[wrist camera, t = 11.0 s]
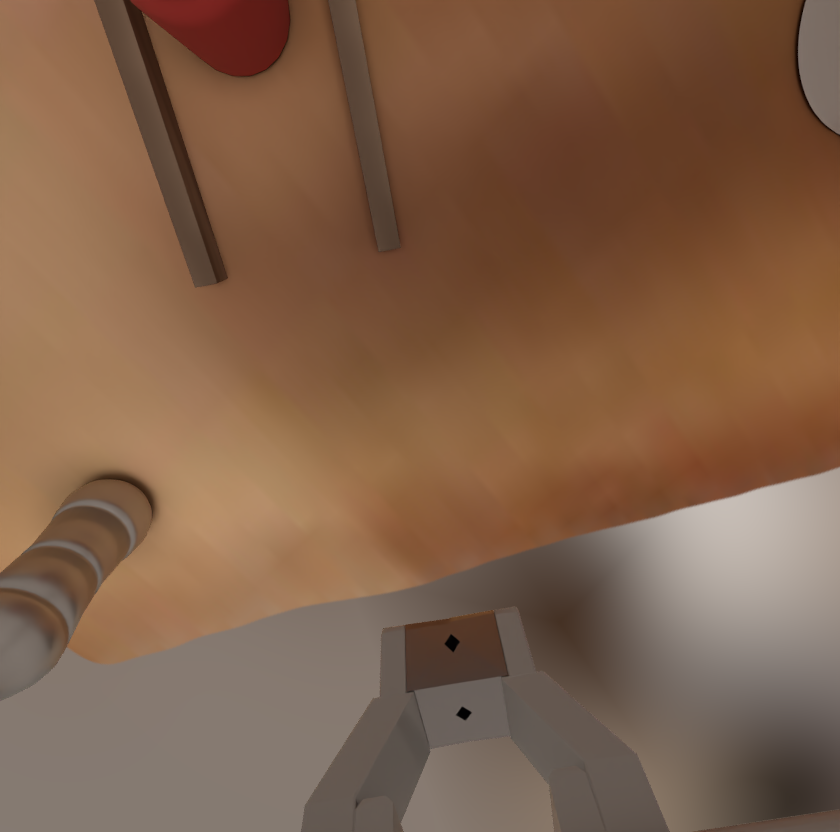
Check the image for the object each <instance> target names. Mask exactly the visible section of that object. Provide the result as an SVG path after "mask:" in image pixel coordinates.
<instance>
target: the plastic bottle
mask: <svg viewBox="0 0 840 832" xmlns="http://www.w3.org/2000/svg"><path fill="white" fill-rule="evenodd" d="M151 520H152V510H151V506H150V504H149V502H148V500H147V498H146V496H145V495H144V493H143V492H142V491H141V490H139V489H138V488H137V487H135V486H134V485H132V484H130V483H128V482H125V481H121V480H113V479H102V480H96V481H92V482H90V483H88V484H86V485H84V486H82V487H81V488H79V489H78V490H76V491H74V492H73V493H72V494H70V495H69V496H68V497H67V498H66V500H65V501H64V502H63V503H62V505H61V506H60V508H59V509H58V510H57V512H56V513H55V515H54V517H53V519H52V521H51V523H50V524H49V525H48V526H47V527H46V529H45V530H44V531H43V532H42V533H41V535H40V536H39V537H38V538H37V539H36V541H35V542H34V543H33V544H32V545H31V546H30V547H29V548H28V549H27V550H26V551H24V552H23V553H22V554H21V556H19V557H18V558H17V559H15V560H14V561H13V562H12V563H11V564H10V565H9V566H8V567H6V568H5V569H4V570H3V571H2V572H1V573H0V701H1V700H4V699H6V698H9V697H11V696H13V695H15V694H17V693H19V692H21V691H23V690H25V689H27V688H29V687H31V686H32V685H34V684H35V683H37V682H38V681H39V680H40V679H41V678H43V677H44V676H45V675H46V674H48V673H49V672H50V671H51V670H52V669H53V668H54V667H55V665H56V664H57V663H58V661H59V659H60V658H61V656H62V654H63V653H64V651H65V649H66V647H67V645H68V643H69V641H70V639H71V637H72V635H73V633H74V631H75V629H76V627H77V625H78V623H79V621H80V618H81V616H82V614H83V613H84V611H85V610H86V608H87V606H88V605H89V603H90V602H91V600H92V598H93V597H94V595H95V594H96V592H97V591H98V589H99V587H100V586H101V584H102V583H103V582H104V581H105V579H106V578H107V577H108V576H109V575H110V574H111V573H112V571H113V570H114V569H115V568H116V567H117V566H118V565H119V563H120V562H121V561H122V560H124V559H125V558H126V557H127V556H129V555H130V554H131V553H132V552H133V551H134V550H135V549H136V548H137V547H138V546H139V545H140V543H141V542H142V541H143V540H144V538H145V536H146V535H147V532H148V529H149V527H150V524H151Z"/></svg>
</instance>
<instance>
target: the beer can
mask: <svg viewBox="0 0 840 832" xmlns="http://www.w3.org/2000/svg"><path fill="white" fill-rule="evenodd" d="M130 1H131V2H132V3H133V4H134V5H135V6H136V7H137V8H138V9H140V10H141V11H142V12H143V13H145V14H146V15H147V16H148V17H150V18H151V19H152V20H153V21H155V22H156V23H157V24H158V25H160V26H161V27H162V28H163V29H165V30H166V31H167V32H168V33H169V34H171V35H172V36H173V37H174V38H176V39H177V40H178V41H179V42H181V43H182V44H183V45H184V46H186V47H187V48H188V49H189V50H191V51H192V52H193V53H194V54H196V55H197V56H198V57H199V58H201V59H202V60H203V61H205V62H206V63H207V64H209V65H210V66H211V67H213V68H214V69H216V70H218V71H221V72H223V73H226V74H229V75H232V76H251V75H254V74H256V73H258V72H261V71H263V70H266V69H267V68H268V67H269V66H270V65H271V64H272V63H273V62H274V61H275V60H276V59H277V58H278V57H279V55H280V53H281V51H282V49H283V47H284V45H285V43H286V41H287V37H288V30H289V24H290V15H289V5H288V0H130Z"/></svg>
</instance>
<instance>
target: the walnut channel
mask: <svg viewBox="0 0 840 832" xmlns="http://www.w3.org/2000/svg"><path fill="white" fill-rule="evenodd" d="M94 1H95V4H96V7H97V9H98V12H99V15H100V18H101V21H102V24H103V27H104V29H105V32H106V35H107V38H108V41H109V44H110V46H111V49H112V52H113V55H114V58H115V61H116V64H117V66H118V69H119V72H120V75H121V78H122V81H123V83H124V86H125V89H126V92H127V95H128V98H129V101H130V103H131V106H132V109H133V112H134V115H135V118H136V120H137V123H138V126H139V129H140V132H141V135H142V138H143V140H144V143H145V146H146V149H147V152H148V155H149V157H150V160H151V163H152V166H153V169H154V172H155V175H156V177H157V180H158V183H159V186H160V189H161V192H162V194H163V197H164V200H165V203H166V206H167V209H168V212H169V214H170V217H171V220H172V223H173V226H174V229H175V231H176V234H177V237H178V240H179V243H180V246H181V248H182V251H183V254H184V257H185V260H186V263H187V266H188V268H189V271H190V274H191V277H192V280H193V283H194V285H195V288H196V287H201V286H206V285H211V284H217V283H219V282H221V281H223V280H225V279H227V275H226V272H225V269H224V266H223V263H222V260H221V256H220V253H219V250H218V247H217V244H216V241H215V238H214V235H213V232H212V229H211V226H210V222H209V219H208V216H207V213H206V210H205V207H204V204H203V201H202V198H201V195H200V192H199V188H198V185H197V182H196V179H195V176H194V173H193V170H192V167H191V164H190V161H189V158H188V154H187V151H186V148H185V145H184V142H183V139H182V136H181V133H180V130H179V127H178V124H177V120H176V117H175V114H174V111H173V108H172V105H171V102H170V99H169V96H168V93H167V90H166V86H165V83H164V80H163V77H162V74H161V71H160V68H159V65H158V62H157V59H156V56H155V52H154V49H153V46H152V43H151V40H150V37H149V34H148V31H147V28H146V25H145V22H144V18H143V15H142V12H141V10H140V9H138V8H137V7H136V6H135V5H134V4H133V3H132V2H131V1H130V0H94ZM328 2H329V7H330V12H331V17H332V22H333V27H334V32H335V37H336V42H337V47H338V52H339V57H340V62H341V67H342V72H343V77H344V82H345V87H346V92H347V97H348V102H349V107H350V112H351V116H352V121H353V126H354V131H355V136H356V141H357V146H358V151H359V156H360V161H361V166H362V171H363V176H364V181H365V186H366V191H367V196H368V201H369V206H370V211H371V216H372V221H373V226H374V231H375V236H376V241H377V246H378V251H379V252H382V251H387V250H392V249H397V248H401V247H400V241H399V236H398V230H397V225H396V219H395V214H394V208H393V203H392V197H391V192H390V187H389V181H388V176H387V170H386V165H385V159H384V154H383V148H382V143H381V137H380V132H379V127H378V121H377V116H376V110H375V105H374V99H373V94H372V88H371V83H370V77H369V72H368V67H367V61H366V56H365V50H364V45H363V39H362V34H361V28H360V23H359V17H358V12H357V7H356V1H355V0H328Z"/></svg>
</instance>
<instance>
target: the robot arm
mask: <svg viewBox="0 0 840 832" xmlns="http://www.w3.org/2000/svg"><path fill="white" fill-rule="evenodd" d="M798 63H799V72H800V77H801V82H802V86H803V89H804V92H805V95H806V97H807V100H808V102H809V104H810V106H811V108H812V109H813V111H814V112H815V114H816V115H817V116H818V117H819V119H820V120H821V121H822V122H823V123H824V124H825V125H826V126H828V127H829V128H830V129H831V130H833V131H835V132H836V133H838V134H839V135H840V0H806V2H805V6H804V10H803V14H802V19H801V24H800V31H799V41H798ZM508 736H511V739H512V740H513V741H514V743H515V744H516V745H517V746H518V748H519V749H520V750H521V751H522V753H523V754H524V755H525V756H526V758H527V759H528V760H529V761H530V762H531V764H532V765H533V766H534V767H535V768H536V770H537V771H538V772H539V773H540V775H541V776H542V777H543V778H544V780H545V781H546V782H547V783H548V784H549V789H550V798H551V808H552V817H553V826H554V832H670V831H669V829H668V827H667V825H666V822H665V820H664V817H663V815H662V812H661V810H660V808H659V805H658V803H657V800H656V798H655V796H654V794H653V791H652V789H651V786H650V784H649V782H648V779H647V777H646V774H645V772H644V770H643V767H642V765H641V763H640V760H639V758H638V756H637V754H636V753H635V752H634V751H633V750H632V749H630V748H629V747H628V746H627V745H626V744H625V743H624V742H622V741H621V740H620V739H619V738H618V737H617V736H616V735H615V734H613V733H612V732H611V731H610V730H609V729H608V728H607V727H606V726H604V725H603V724H602V723H601V722H600V721H599V720H598V719H596V718H595V717H594V716H593V715H592V714H591V713H590V712H589V711H588V710H587V709H585V708H584V707H583V706H582V705H581V704H580V703H579V702H578V701H576V700H575V699H574V698H573V697H572V696H571V695H570V694H569V693H567V692H566V691H565V690H564V689H563V688H562V687H561V686H560V685H558V684H557V683H556V682H555V681H554V680H553V679H552V678H551V677H549V676H548V675H547V674H546V673H545V672H544V671H538V672H536V670H535V666H534V663H533V659H532V656H531V653H530V649H529V646H528V642H527V639H526V635H525V632H524V628H523V625H522V622H521V618H520V615H519V611H518V609H517V608H516V607H509V608H504V609H498V610H494V612H493V610H491V611H485V612H479V613H474V614H468V615H463V616H458V617H452V618H449V619H443V620H436V621H429V622H422V623H414V624H408V625H403V626H396V627H389V628H383V631H382V635H381V667H380V697H379V698H373V699H372V701H371V702H370V704H369V706H368V707H367V709H366V710H365V712H364V713H363V715H362V716H361V718H360V720H359V721H358V723H357V724H356V726H355V727H354V729H353V731H352V732H351V734H350V735H349V737H348V738H347V740H346V742H345V743H344V745H343V746H342V748H341V750H340V751H339V753H338V754H337V756H336V757H335V759H334V760H333V762H332V764H331V765H330V767H329V768H328V770H327V772H326V773H325V775H324V776H323V778H322V779H321V781H320V782H319V784H318V786H317V787H316V789H315V790H314V792H313V793H312V795H311V797H310V798H309V800H308V801H307V803H306V804H305V808H304V815H303V822H302V829H301V832H404V831H403V829H402V826H401V821H402V819H403V816H404V814H405V812H406V809H407V807H408V804H409V802H410V799H411V797H412V795H413V792H414V790H415V787H416V785H417V783H418V780H419V778H420V775H421V773H422V771H423V768H424V766H425V763H426V761H427V759H428V756H429V754H430V749H432V748H437V747H443V746H448V745H453V744H459V743H464V742H469V741H477V740H484V739H492V738H500V737H508ZM694 832H840V809H839V810H832V811H825V812H819V813H812V814H806V815H799V816H792V817H786V818H779V819H773V820H766V821H760V822H753V823H746V824H740V825H733V826H726V827H720V828H714V829H707V830H700V831H694Z"/></svg>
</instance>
